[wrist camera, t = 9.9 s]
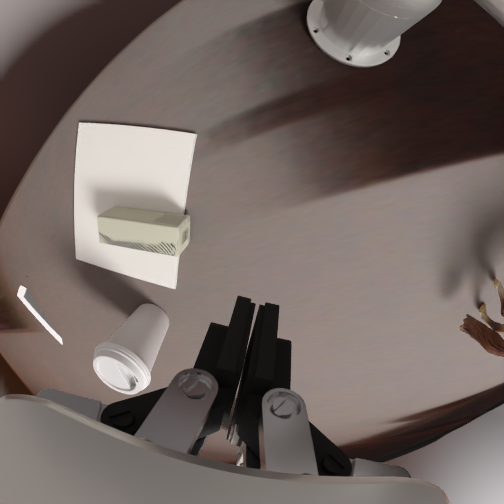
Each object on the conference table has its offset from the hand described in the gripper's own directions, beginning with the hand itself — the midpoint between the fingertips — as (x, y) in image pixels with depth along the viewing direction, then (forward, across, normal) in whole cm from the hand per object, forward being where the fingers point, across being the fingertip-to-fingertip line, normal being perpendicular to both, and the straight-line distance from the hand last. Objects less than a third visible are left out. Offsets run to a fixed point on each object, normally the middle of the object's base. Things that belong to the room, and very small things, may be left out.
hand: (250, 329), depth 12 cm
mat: (+29, +22, +7) cm, 37 cm away
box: (+26, +10, +8) cm, 29 cm away
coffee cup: (+29, +16, +27) cm, 43 cm away
